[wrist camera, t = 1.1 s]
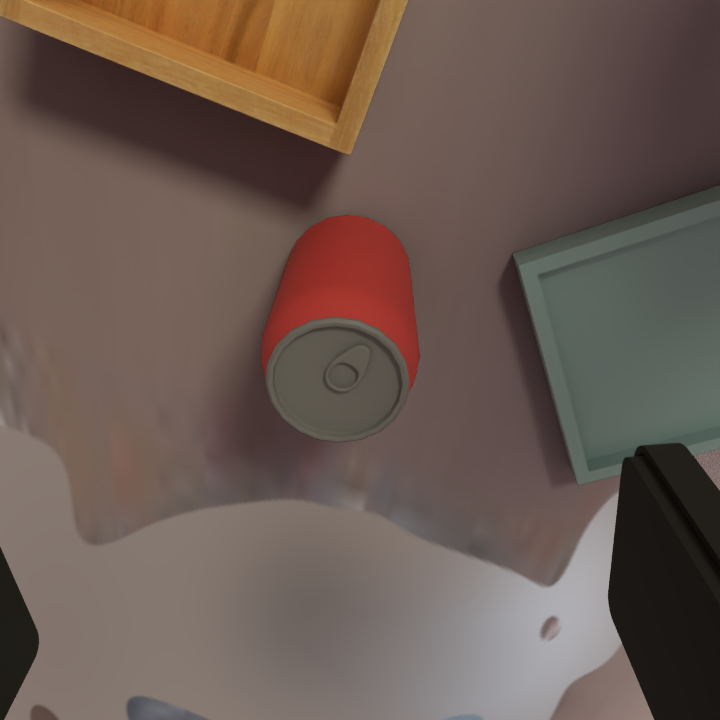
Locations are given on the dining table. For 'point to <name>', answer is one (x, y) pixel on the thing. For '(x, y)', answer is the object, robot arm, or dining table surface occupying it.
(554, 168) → the dining table surface
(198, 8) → the tray
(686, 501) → the robot arm
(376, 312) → the beer can
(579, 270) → the slate tray
